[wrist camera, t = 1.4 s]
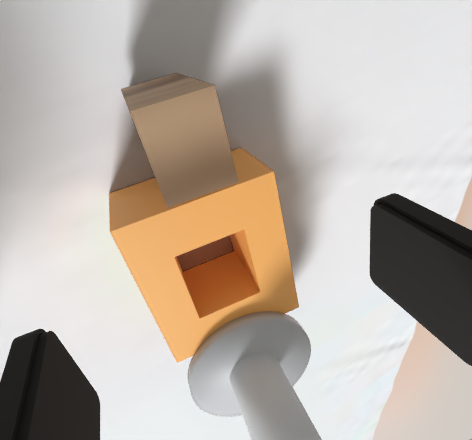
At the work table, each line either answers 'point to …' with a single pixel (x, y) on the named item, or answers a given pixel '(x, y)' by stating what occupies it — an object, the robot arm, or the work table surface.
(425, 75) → the work table surface
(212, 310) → the orange block with cylinder
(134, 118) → the tan wooden block
